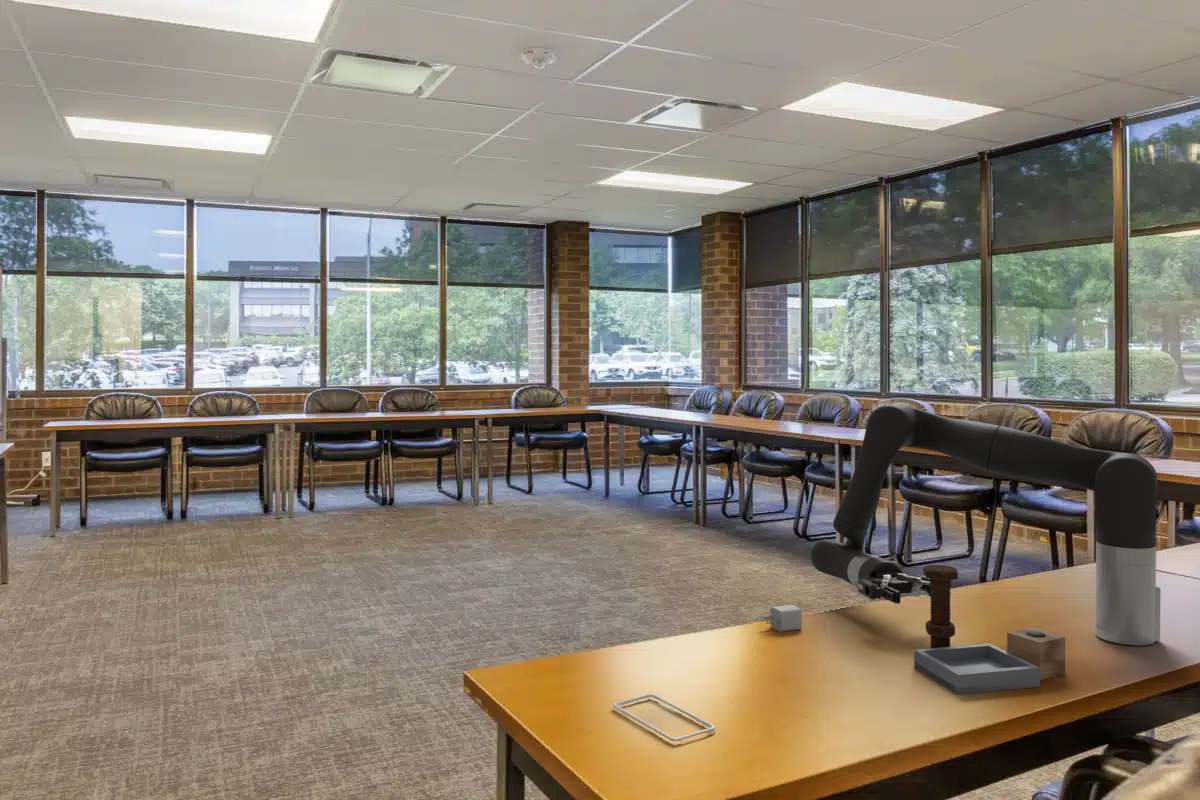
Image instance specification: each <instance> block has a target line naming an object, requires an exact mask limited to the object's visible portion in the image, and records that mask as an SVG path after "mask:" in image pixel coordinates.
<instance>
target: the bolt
mask: <svg viewBox="0 0 1200 800" xmlns="http://www.w3.org/2000/svg"><path fill="white" fill-rule="evenodd" d="M923 575H925V577H926V578H928V579H930V588H931V590H930V591H931V597H930V619H929V620H927V621H926V622H925V631H926V633H927V635H929V636H930V648H942V647H951V638H952V637H954V636H955V635H956V626H955V623H954V622H951V588H952V581H954V580H959V579H958V578H959V576H958V575H959V571H958V570H957V568H956V567H953V566H950V565H946V564H945V565H944V564H928V565H926V566H924V567H923Z"/></svg>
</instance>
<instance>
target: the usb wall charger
mask: <svg viewBox="0 0 1200 800" xmlns="http://www.w3.org/2000/svg"><path fill="white" fill-rule="evenodd" d="M769 613H770V616H769V615H768V616H762V617H761V618H760V619H761V620H760V621H761V622H766V625H770V627H771V628H772V629H774V630H776V631H778V632H780V633H781V632H788V631H796V630H797V631H798V630H802V625H803V623H802V618H803V613H802V610H801V608H799V607H798V606H795V605H793V604H786V605H779V606H772V607H770V610H769Z"/></svg>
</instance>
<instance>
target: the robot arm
mask: <svg viewBox="0 0 1200 800" xmlns="http://www.w3.org/2000/svg"><path fill="white" fill-rule="evenodd" d="M862 441H863V442H862V445H861V450H860V453H859V456H858V459H857V463H856V466H855V469H854V471H853V474H852V477H851V479H850V482H849V484H848V486H847V488H846V490H845V491H846V492H845V494H844V496H843V498H842V500H841V503H840V504H839V507H838V510H837V512H836V513H835V516H834V519H833V522H832V526H833V528H834V530H835V531H836V533H838V534H840V535H842V536H843V537H845V538H846V541H845V543H843V542H840V541H837V540H831V539H825V538H824V539H821V540H819V541H816V543H814V545H812V548H811V551H810V561H811V564H812V565H813V567H814V568H815V569H816V570H817V571H819V572H820V573H823V574H826V575H829V576H832V577H835V578H839V579H841V580H844V581H845V582H847V583H848V584H850V585H852V586H854V587H855V588H857V592H858V593H859V594H861V595H863V596H865V597H866V598H868V599H870V600H874V601H875V600H877V599H878V600H880V601H889V602H891V603H894V604H896V605H897V604H901V602H902V601H901V600H902V599H901V596H911V597H920V596H926V597H930V598H931V591H930V590H931V588H930V579H928V578H926V577H925V575H924V573H922V574H921V573H920V574H918V575H917V576H914V575H913V576H912V575H908V574H906V573H903V571H902V569H901V568H900V566H899V565H897V564H896V563H894V562H893V561H889V560H887V559H885V558H883V557H881V556H877V555H875V554H869V553H867V552H864V548H865V542H866V541H865V540H866V536H867V535H866V534H867V531H868V529H869V526H870V524H871V522H872V520H873V518H874V515H875V514H876V510H877V508H878V505H879V502H880V498H881V493H882V488H883V483H884V481H885V477H886V474H887V472H888V470H889V468H890V465H891V464H892V462H893V460H894V458H896V455H897V454H898V452H899V451H900V449H902V448H904V447H905V448H906V447H907V448H915V449H920V450H926V451H931V452H937V453H940V454H944V455H946V456H948V457H951V458H952V459H955V460H957V461H959V462H961V463H964V464H965V465H968V466H971V467H973V468H976V469H979V470H982V471H984V472H989V473H993V474H997V475H1000V476H1005V477H1008V478H1009V477H1010V478H1015V479H1022V480H1028V481H1029V480H1031V481H1039V482H1053V483H1054V482H1055V483H1062V484H1067V485H1068V484H1069V485H1072V486H1076V487H1079V488H1083V489H1086V490H1089V491H1092V492H1094V514H1095V515H1094V525H1095V535H1096V538H1095V541H1096V542H1095V543H1096V544H1095V553H1096V554H1095V635H1096V637H1098V638H1099V639H1102V640H1105V641H1107V642H1111V643H1115V644H1119V645H1127V646H1150V645H1153V644H1155V642H1159V641H1161V596H1162V595H1161V591H1162V590H1161V588H1160V587H1159V586H1157V486H1158V481H1159V480H1158V473H1157V470H1156V469H1155V467H1154V465H1152V463H1151V462H1150V461H1149V460H1147V459H1146V458H1145V457H1143V456H1140V455H1138V454H1135V453H1130V452H1117V451H1111V450H1110V451H1109V450H1102V449H1095V448H1087V447H1081V446H1076V445H1073V444H1072V445H1071V444H1069V443H1066V442H1062V441H1059V440H1057V439H1053V438H1050V437H1046V436H1043V435H1040V434H1036V433H1032V432H1027V431H1024V430H1021V429H1018V428H1017V429H1016V428H1012V427H1007V426H1002V425H997V424H992V423H987V422H980V421H973V420H965V419H957V418H949V417H946V416H942V415H940V414H939V415H938V414H935V413H933V412H928V411H926V410H923V409H919V408H917V407H914V406H911V405H908V404H905V403H900V402H897V403H888V404H887V403H886V404H883V405H880V406H879V407H877V408H876V409H874V410H873V412H872V413H871V414H870V416H869V417H868V420H867V425H866V429H865V432H864V437H863V440H862ZM914 587H915V591H913V589H914Z"/></svg>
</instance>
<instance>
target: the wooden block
mask: <svg viewBox="0 0 1200 800" xmlns="http://www.w3.org/2000/svg"><path fill="white" fill-rule="evenodd" d="M1006 635H1007V636H1006V651H1007V652H1009V653H1011V654H1013V655H1015V656H1017V657H1019V658H1021V659H1023V660H1026V661H1028V662H1030V663H1032V664H1034V665H1036V666H1038V667H1040V681H1043V679H1044V680H1047V678H1048V679H1051V677H1052V678H1055V677H1059V676H1062V675H1065V674H1066V636H1064V635H1060V634H1056V633H1052V632H1049V631H1046V630H1043V629H1040V628H1035V627H1033V626H1030V627H1026V628H1022V629H1017V630H1013V631H1008V632H1006Z"/></svg>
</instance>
